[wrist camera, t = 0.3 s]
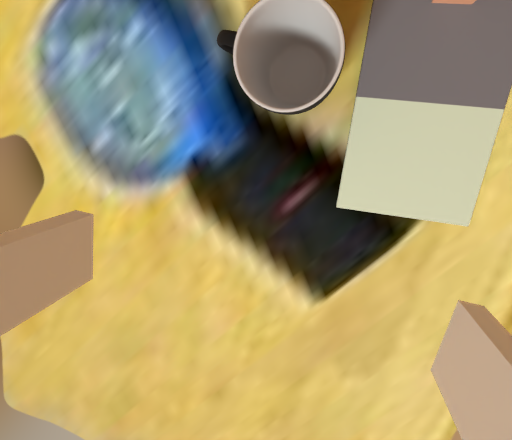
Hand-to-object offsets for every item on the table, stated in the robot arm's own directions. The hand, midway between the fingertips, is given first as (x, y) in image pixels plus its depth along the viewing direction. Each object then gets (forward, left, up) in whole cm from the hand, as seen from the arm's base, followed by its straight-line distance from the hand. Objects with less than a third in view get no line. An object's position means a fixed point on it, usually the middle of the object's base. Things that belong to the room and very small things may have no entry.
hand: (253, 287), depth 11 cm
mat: (-14, +11, -28) cm, 33 cm away
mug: (-12, -4, -28) cm, 30 cm away
